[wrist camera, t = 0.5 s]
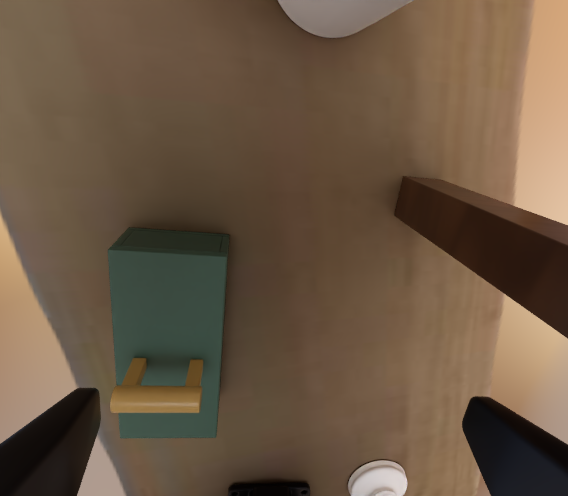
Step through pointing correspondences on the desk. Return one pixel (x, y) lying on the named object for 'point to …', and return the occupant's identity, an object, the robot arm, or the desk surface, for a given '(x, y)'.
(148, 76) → the desk surface
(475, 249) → the post
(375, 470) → the chess piece
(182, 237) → the chest
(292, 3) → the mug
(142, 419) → the lid
